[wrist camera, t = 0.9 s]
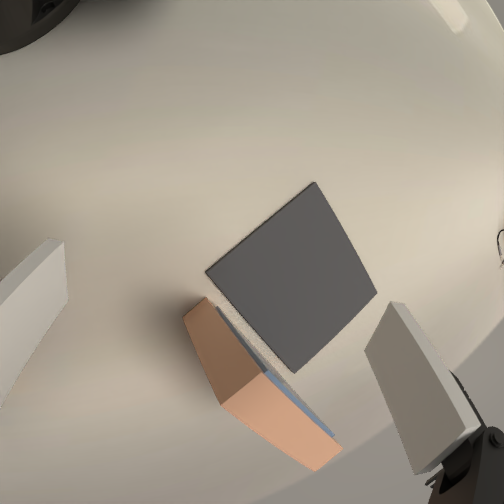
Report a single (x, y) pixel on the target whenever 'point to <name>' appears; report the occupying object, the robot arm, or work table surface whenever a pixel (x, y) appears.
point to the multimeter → (500, 248)
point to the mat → (296, 278)
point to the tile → (257, 389)
